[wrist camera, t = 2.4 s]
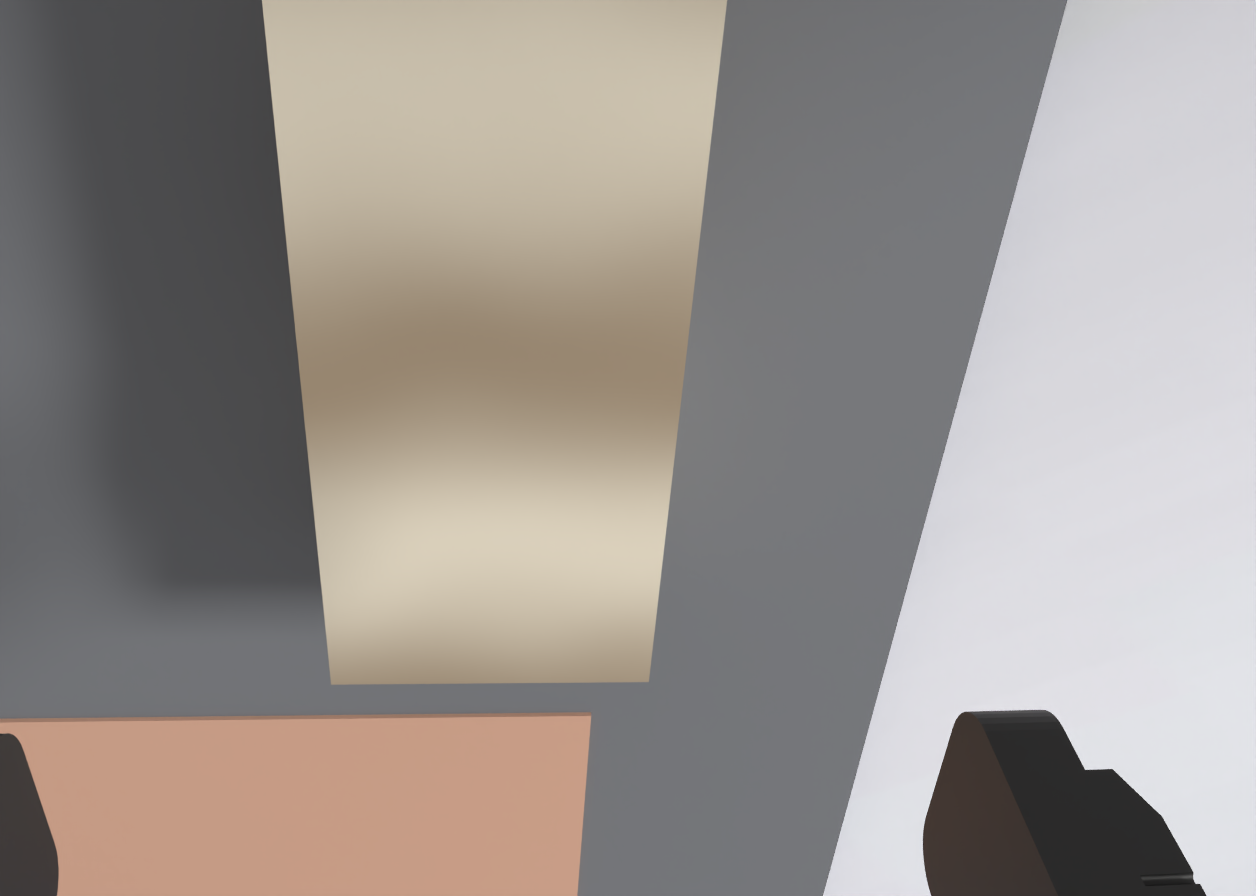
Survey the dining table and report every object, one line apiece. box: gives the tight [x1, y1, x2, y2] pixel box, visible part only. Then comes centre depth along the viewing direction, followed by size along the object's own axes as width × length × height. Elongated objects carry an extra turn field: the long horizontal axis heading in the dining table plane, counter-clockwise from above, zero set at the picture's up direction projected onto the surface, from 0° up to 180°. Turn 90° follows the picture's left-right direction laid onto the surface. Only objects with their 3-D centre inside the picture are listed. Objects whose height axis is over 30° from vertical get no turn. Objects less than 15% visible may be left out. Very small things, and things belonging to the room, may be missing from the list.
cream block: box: [262, 0, 727, 685], centre depth 17 cm, size 12×5×4 cm, turn 176°
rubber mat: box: [0, 0, 1067, 896], centre depth 22 cm, size 30×22×1 cm
